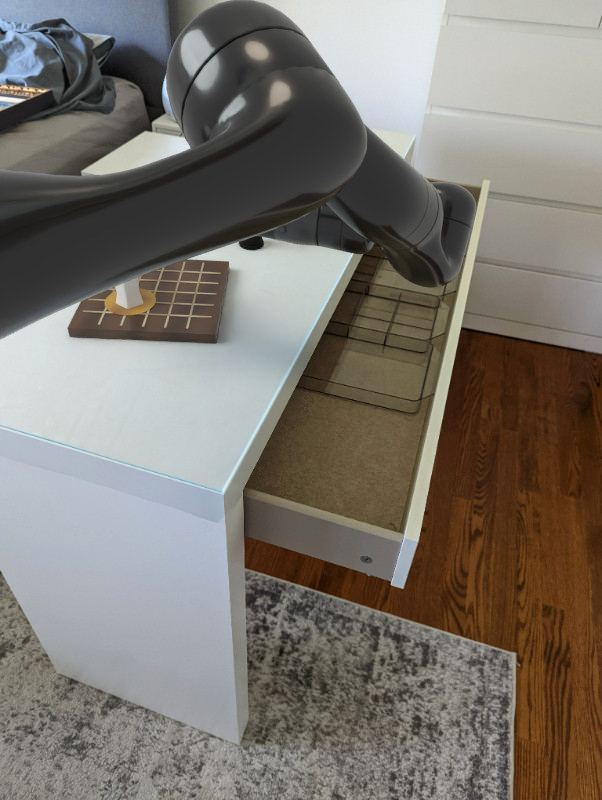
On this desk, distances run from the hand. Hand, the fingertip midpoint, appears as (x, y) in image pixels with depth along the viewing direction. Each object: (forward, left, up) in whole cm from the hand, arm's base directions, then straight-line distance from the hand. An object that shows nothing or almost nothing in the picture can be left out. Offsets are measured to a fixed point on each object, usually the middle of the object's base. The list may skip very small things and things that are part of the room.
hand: (154, 180), depth 68 cm
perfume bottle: (-6, +5, -20) cm, 22 cm away
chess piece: (+9, +27, -22) cm, 36 cm away
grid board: (-4, +8, -22) cm, 23 cm away
